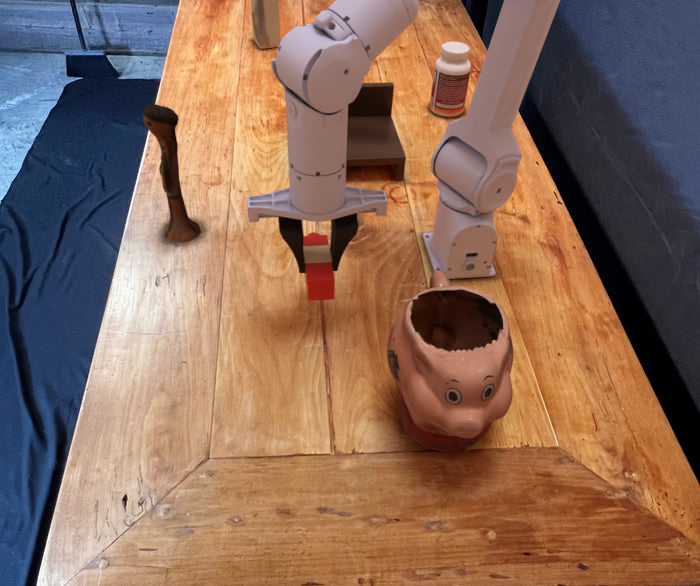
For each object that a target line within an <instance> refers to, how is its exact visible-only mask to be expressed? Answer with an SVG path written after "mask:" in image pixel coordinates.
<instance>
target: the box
mask: <svg viewBox="0 0 700 586" xmlns="http://www.w3.org/2000/svg"><path fill="white" fill-rule="evenodd" d="M250 6H251V22H252V23H251V24H252V25H251V26H252V39H253V41H254V43H255V44H256V45H257V47H258V48H259V49H261V50H264V49H271V48H272V49H274V48H278V46H279V44H280V42H281V36H280V35H281V34H280V1H279V0H250Z"/></svg>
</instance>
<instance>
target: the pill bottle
mask: <svg viewBox="0 0 700 586" xmlns="http://www.w3.org/2000/svg"><path fill="white" fill-rule="evenodd" d="M440 55H441V56H439V57H438V58H437V60H435V63H434V69H433V78H432V85H431V92H430V99H429V100H430V101H429V109H430V111H431V112H432V113H433V114H435V115H436V116H440V117H444V118H454V117H458V116H460V115H461V114H463V112H464V110H465V104H466V99H467V93H468V89H469V82H470V75H471V71H472V70H471V69H472V64H471V61H470V60H469V59H468V58H469V56H470V46H469V45H468V44H466V43H463V42H460V41H446V42H444V43H443V44H442V45H441V50H440Z"/></svg>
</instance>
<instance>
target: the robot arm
mask: <svg viewBox="0 0 700 586" xmlns="http://www.w3.org/2000/svg"><path fill="white" fill-rule="evenodd" d="M560 2H561V0H503V3H502V6H501V9H500V11H499V16H498V19H497V21H496V25H495V27H494V31H493V32H492V33H493V34H492V37H491V39H490V43H489V45H488V47H487V52H486V54H485V57H484V61H483V63H482V67H481V70H480V73H479V75H478V78H477V83H476V85H475V87H474V91H473V94H472V97H471V100H470V103H469V105H468V108H467V109H468V110H467V113H466V115H464V116H463V117H459V118H457V119H455V120H452V121H451V122H449V123H448V124H446V127H445V128H446V129H445V131H444V134H443V137H442V138H441V140H440V141H439V143H438V144H437V145H436V147H435V149H434V151H433V153H432V155H431V159H430V165H429V166H430V167H429V168H430V172H431V173H432V175H433V177H435V178H436V179H437V182H436V188H437V189H438V191H439V193H438V200H437V206H436V210H435V211H436V212H435V217H434V223H433V230H432V231H429V232H423V233H422V239H423V242H424V245H425V248H426V252H427V255H428V258H429V260H430V264H431V266H432V269H433V273H434V272H435V271H436V270H439V271H442V272H443V273H445V275H446V276H447V277H448V278H449V280H451V279H467V278H484V277H485V278H486V277H487V278H488V277H494V276H496V269H495V267H494V265H493V260H494V256H495V252H496V248H497V244H498V241H499V240H498V239H499V238H498V231H497V229H496V225H495V222H494V214H495V210H497V209H500V208H501V207H502V206H504V205H505V204H506V202H507V201H508V200H509V199H510V198H511V196H512V195H513V193H514V191H515V189H516V185H517V181H518V169H519V166H520V163H521V160H522V157H523V153H522V149H521V148H520V145H519V143H518V141H517V138H516V136H515V133H514V130H513V125H514V123H515V119H516V117H517V115H518V112H519V110H520V106H521V104H522V101H523V99H524V96H525V93H526V91H527V89H528V85H529V84H530V81H531V78H532V75H533V73H534V70H535V67H536V65H537V62H538V59H539V57H540V54H541V52H542V49H543V47H544V44H545V41H546V39H547V36H548V33H549V31H550V28H551V26H552V23H553V20H554V18H555V15H556V13H557V10H558V7H559V5H560ZM419 5H420V0H334V1H333V2H332V3H331V4H330V5H329V6H328V7H327V8H326V9H325V10H321V11H320V12H319V13H318V14H317V15H316V16H315V17H314V20H313V22H312V23H304V25H303V26H302V25H301V24H299V25H297V26H295V27H293V28H292V29H291V30H289V31H288V32H286V33H285V34H284V36H283V37H282V38H281V39H280V44H279V46H278V47H277V50H276V55H275V58H274V59H272V60H271V61H270V67H271V71H272V74H273V76H274V77H275V80H276V81H277V82H278V83H279V84H280V85H281V86H282V88H283V91H284V102H285V112H286V138H287V159H288V180H289V181H288V182H289V187H286V188H283V189H279V190H275V191H272V192H268V193H267V192H266V193H263V194H258V195H247V196H246V207H247V217H248V223H259V222H260V219H270V218H271V219H273V218H277V219H278V228H279V230H278V231H279V234H280V236H281V238H282V239H283V241H284V242H285V243H286V244H287V246H288V247H289V249H290V251H291V252H292V254H293V257H294V259H295V261H296V264H297V267H298V273H299V274H304V273H305V260H304V252H303V242H304V236H305V234H304V228H303V226H304V225H303V221H306V222H312V223H322V222H323V223H324V222H329V221H330V243H329V245H330V252H331V258H332V266H333V272H338V271H339V267H340V266H339V265H340V263H341V260H342V257H343V255H344V252H345V250H346V249H347V247H348V245H349V244H350V242H351V241H352V240H353V239H354V237H355V236H357V233H358V232H359V219H358V214H373V213H375V215H376V216H377V217H385V216H387V214H388V203H389V200H388V195H387V193H386V190H385V189H366V188H361V187H354V186H348V185H347V166H346V154H347V124H348V104H350V103H351V102H353V101H354V100H355V98H356V97H357V95H358V93H359V91H360V89H361V86H362V83H364V79H365V77H366V75H367V74H368V73H369V72H370V71H371V69H370V68H371V67H372V66H373V63H372V62H374V61H375V60H376V59H377V57H378V56H380V55H381V54H382V53H383V52H384V51H386V49H387V48H388V47H389V46H390V45H391V44H392V43H394V41H395V40H396V39H398V37H400V35H402V33H404V32H405V31H406V30H407V29H408V28H409V27H410V26H411V25H412V24H413V23H414V22H415V21H416V20H417V18H418V13H419Z"/></svg>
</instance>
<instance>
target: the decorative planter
mask: <svg viewBox="0 0 700 586" xmlns="http://www.w3.org/2000/svg"><path fill="white" fill-rule="evenodd" d="M389 331H390V332H389V336H388V339H387V346H386V347H387V348H386V356H387V357H386V358H387V363H388V368H389V372H390V375H391V376H392V378H393V380H394V381H395V383H396V384H397V385H398V390H399V404H398V409H399V416H400V419H401V422H402V426H403V430H404V431H405V433H406V435H407V436H408V437H409V438H411V439H412V440H413V441H415V442H417V444H420V445H421V446H423V447H425V448H428V449H432V450H436V451H442V452H454V451H455V452H456V451H461V450H464V449H468V448H470V447H472V446H474V445H475V444H477V443H478V442H479V441H481V440H482V439H483V438H484V436H485V435H486V434H487V432H488V431H489V430H490V428H491V426H492V424H493V422H495V421H499V420H501V419H503V418H504V417H505V416H506V415H507V413H508V411H509V410H510V407H511V405H512V401H513V393H514V392H513V385H512V380H511V372H512V368H513V363H514V345H513V340H512V336H511V332H510V322H509V319H508V317H507V314H506V311H505V310H504V308H503V307H502V305H501V304H500V303H499V302H498V300H496V299H495V298H494V297H493V296H491V295H489V294H488V293H486V292H484V291H482V290H479V289H476V288H473V287H468V286H463V285H452V283H451V281H450V279H449V278H448V277H447V276H446V275H445V273H443V272H442V271H439V270H436V271H435V272H434V271H433V273H432V274H431V276H430V277H429V285H428V288H427V289H424V290H422V291H419V292H418V293H416V294H415V295H414V296H412V298H410V300H409V301H408V303H407V306H406V307H405V309H404V311H403V312H402V313H401V314H399V315H398V316H397V318H396V319H395V320H394V322H393V324H392V325H391V328H390V330H389Z"/></svg>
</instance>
